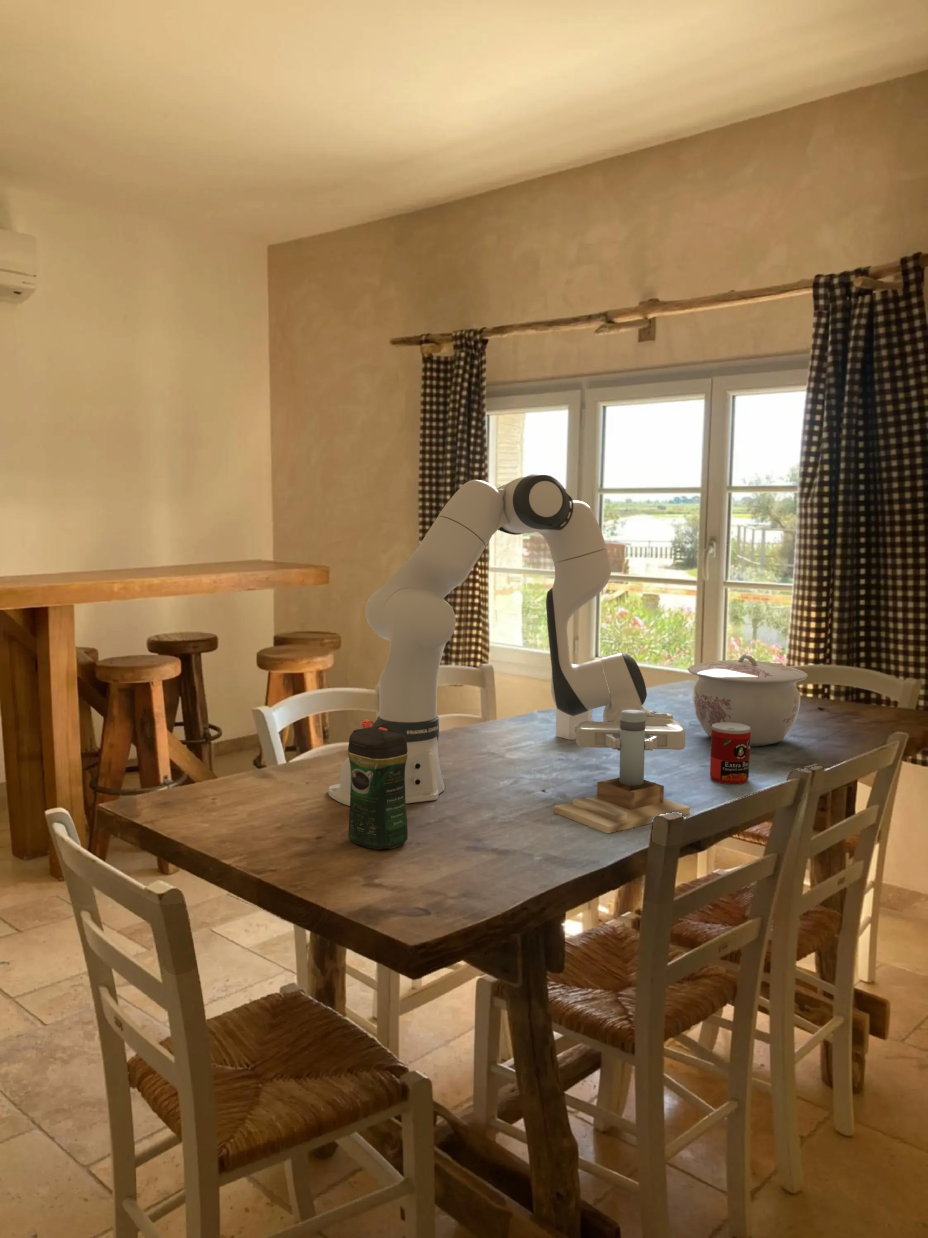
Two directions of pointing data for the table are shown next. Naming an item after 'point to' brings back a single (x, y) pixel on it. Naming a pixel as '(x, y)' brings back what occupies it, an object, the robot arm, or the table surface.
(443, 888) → the table surface
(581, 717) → the jar
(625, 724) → the insulated water bottle
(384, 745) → the coffee jar
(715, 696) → the chamber pot
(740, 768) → the canned food
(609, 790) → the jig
